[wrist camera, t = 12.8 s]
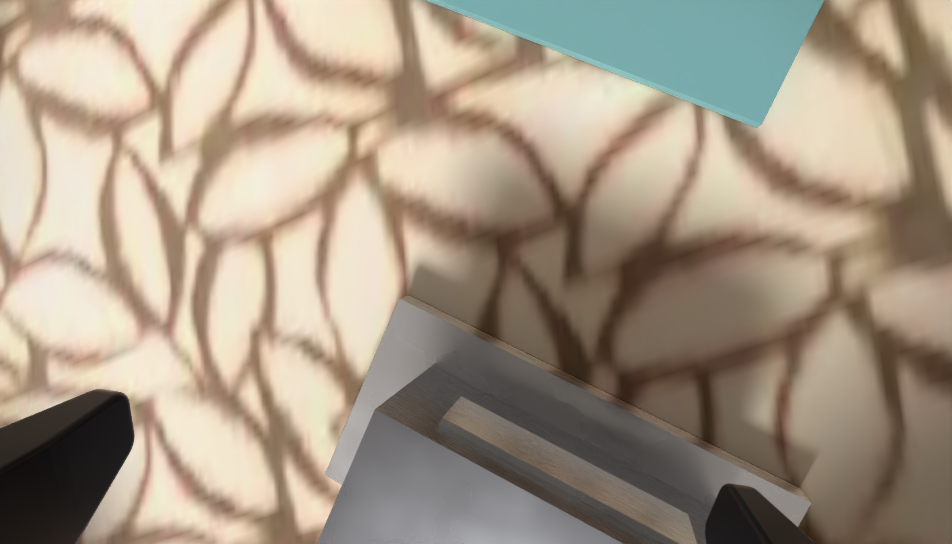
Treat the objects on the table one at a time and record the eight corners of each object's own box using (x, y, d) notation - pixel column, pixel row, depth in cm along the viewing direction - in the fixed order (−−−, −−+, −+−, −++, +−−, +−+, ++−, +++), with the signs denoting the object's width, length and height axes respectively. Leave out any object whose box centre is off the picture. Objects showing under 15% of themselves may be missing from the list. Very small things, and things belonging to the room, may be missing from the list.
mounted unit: (800, 488, 17) (899, 615, 12) (696, 667, 18) (741, 867, 13) (409, 295, 20) (328, 319, 14) (337, 463, 21) (234, 552, 15)
